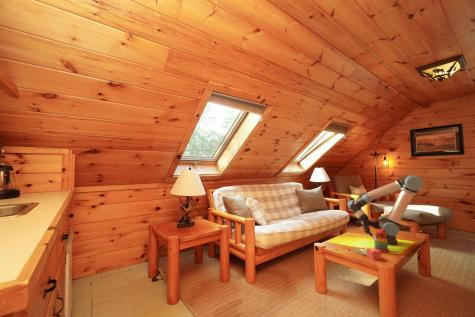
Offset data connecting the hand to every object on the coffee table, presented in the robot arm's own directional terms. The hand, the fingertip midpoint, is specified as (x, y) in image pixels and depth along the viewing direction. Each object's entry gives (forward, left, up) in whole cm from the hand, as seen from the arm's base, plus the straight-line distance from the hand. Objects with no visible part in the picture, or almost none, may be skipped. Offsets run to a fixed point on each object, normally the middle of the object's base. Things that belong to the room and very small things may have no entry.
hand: (380, 238), depth 181 cm
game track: (+13, 0, -10) cm, 17 cm away
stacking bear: (-1, 0, -10) cm, 10 cm away
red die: (+16, +11, -10) cm, 22 cm away
